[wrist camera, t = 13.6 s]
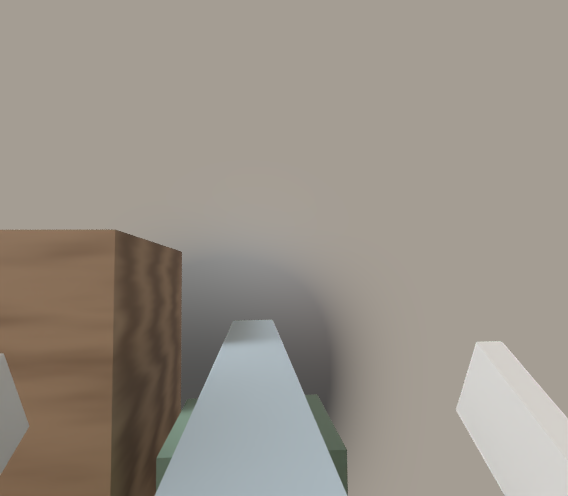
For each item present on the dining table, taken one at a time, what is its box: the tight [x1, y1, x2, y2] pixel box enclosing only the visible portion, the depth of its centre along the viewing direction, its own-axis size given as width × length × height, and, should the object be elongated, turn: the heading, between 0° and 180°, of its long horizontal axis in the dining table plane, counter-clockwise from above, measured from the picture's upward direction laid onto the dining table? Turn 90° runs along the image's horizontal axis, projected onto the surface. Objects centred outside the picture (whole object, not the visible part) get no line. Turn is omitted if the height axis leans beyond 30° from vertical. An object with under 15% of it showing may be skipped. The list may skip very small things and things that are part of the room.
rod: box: [155, 320, 347, 496], centre depth 21 cm, size 30×4×4 cm, turn 4°
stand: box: [0, 230, 182, 496], centre depth 30 cm, size 20×10×30 cm, turn 4°
